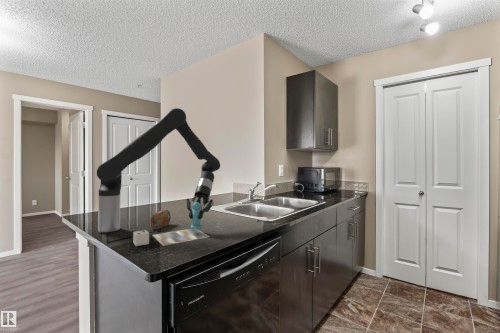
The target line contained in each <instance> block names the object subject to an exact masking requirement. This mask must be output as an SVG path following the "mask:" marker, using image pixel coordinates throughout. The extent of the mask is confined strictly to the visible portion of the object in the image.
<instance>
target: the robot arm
mask: <svg viewBox="0 0 500 333" xmlns="http://www.w3.org/2000/svg"><path fill="white" fill-rule="evenodd" d="M174 130H176V132H178V133H179V134H180V136H181V137H182V138H183V139H184V141H185V142H186V144H187V145H188V147H189V148H190V149H191V151H192V152H193V154H194V156H196V158H197V160H201V161H202V160H205V161H204V162H203V163H202V165H201V168H200V169H201V170H200V171H201V172H200V175H201V176H200V178H199V180H198V183H197V186H196V189H195V190H194V191H195V192H194V195H193V197H192V198H190V199H189V198H186V207H187V210H188V212H189V213H188V217H189V219H190V220H192V209H193V208H192V205H193V203H195V202H199V203H200V204H201V208H200V209H201V210H200V213H199V216H198V218H199V219H202V218H203V217H204V214H205V213H208V212H210V210H211V208H212V207H213V206H214V201H213V200H214V199H210V195H211V194H212V189H213V184H214V181H215V174H214V172H216V171H218V170H219V169H220V168H221V162H220V160H219V159H218V158H217V157H216V156H215V155H213V154H212V153H211V152H210V150H208V149H207V148H206V146H205V144H204V143H203V141H202V140H201V139H200V138H199V137H198V136H197V135H196V133H195V132H194V131H193V130H192V129H191V127H190V125H189V124H188V121H187V114H186V112H185V111H184V110H183V109H181V108H177V107H176V108H172V109H170V110H169V111H168V113H166V115H164V116H163V118H161V120H159V121H158V122H157V123H155V124H154V125H152V126H151V127H149V128H147V129H146V130H144V131H143V132H141V133H140V134H139V135H138V136H136V137H135V138H133V140H131V141H130V142H129V143H128V144H127V145H125V147H123V148H122V150H121V151H119V152H117V154H115V155H114V156H112V157H111V158H109V159H108V160H105V161H104V162H102V163H101V164H100V165H99V166H98V167H97V169H96V176H97V178H98V179H99V180H100V186H99V188H98V210H97V231H98V233H110V232H111V233H112V232H116V231H119V230H120V229H121V189H122V178H123V177H122V173H123V171H124V170H126V168H127V167H129V165H131V164H133V163H135V162H136V161H138V160H140V159H141V158H143V157H144V156H146V155H147V154H149V153H150V152H151V151H152V150H153V149H155V148H156V147H157V146H158V145H159V144H160V143H162V141H163V140H164V139H165V138H166V137H167V136H168V135H169V134H170V133H172V132H173V131H174Z"/></svg>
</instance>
